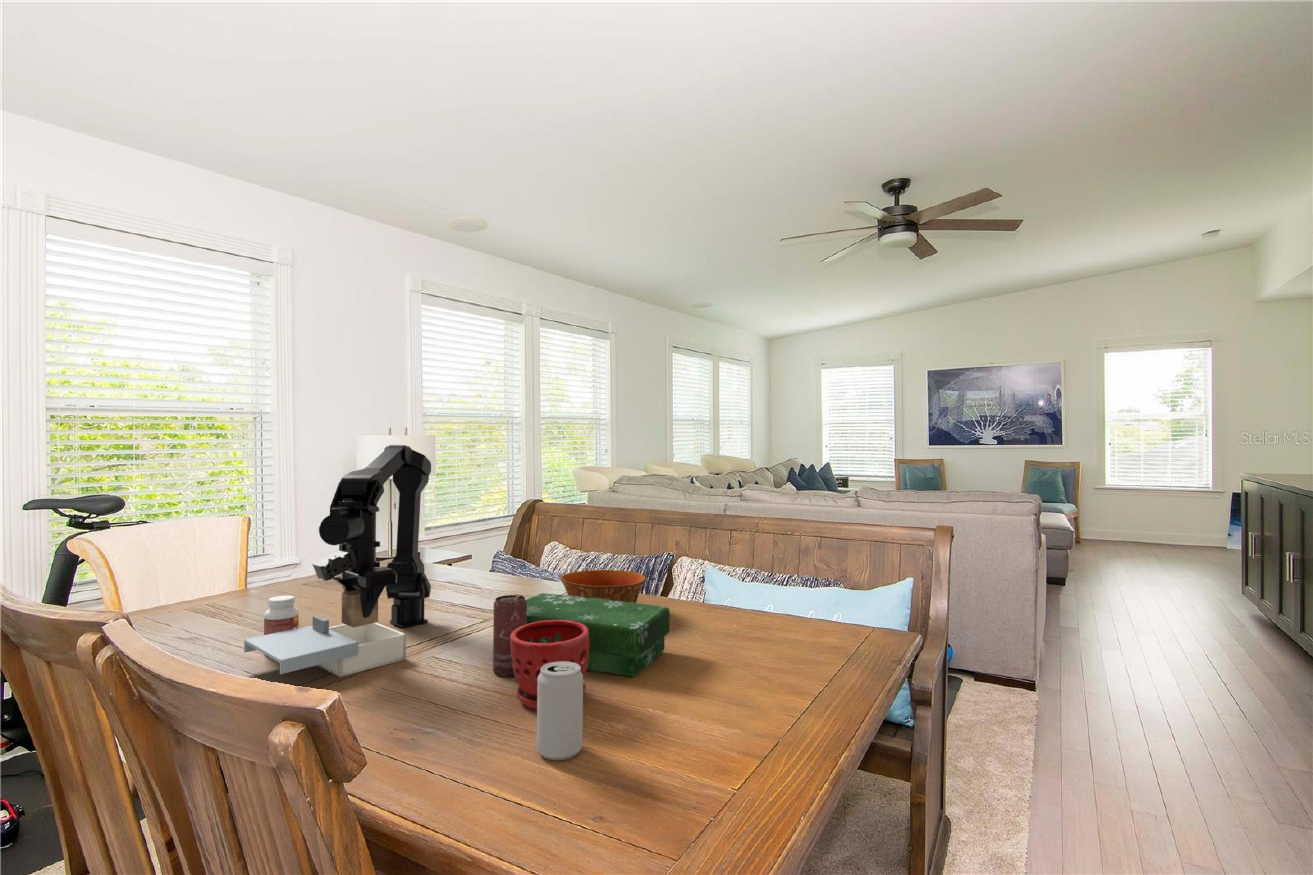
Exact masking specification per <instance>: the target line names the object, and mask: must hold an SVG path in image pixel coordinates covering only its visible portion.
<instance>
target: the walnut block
mask: <svg viewBox="0 0 1313 875" xmlns="http://www.w3.org/2000/svg"><path fill="white" fill-rule="evenodd" d="M378 622H379V599H378V600H377V602H376V604H375V606H374V608H373V610H372V612H371V614H370V616H369V617H366V618H364V617H363V613H362V606H361V597H360V592H359V591H358V590H354V591H349V592H344V591H343V592H341V623H342V624H346V625H348V626H351V627H353V628H354V627H358V626H363V625H367V624H372V623H378Z"/></svg>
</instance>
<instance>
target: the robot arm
mask: <svg viewBox="0 0 1313 875" xmlns="http://www.w3.org/2000/svg"><path fill="white" fill-rule="evenodd" d="M431 472H432V462H431V461H430V460H429V459H428V457H426V455H425V454H424V453H421V452H419V451H416V450H414V449H412V447H410V446H408V445H406V444H389V445H386V446H385V447H384V450H383V451H382V452H381V453H380V454H379V455H378V456H377V457H375V459H373V460H372V461H371V462H370V463H369V464H368V465H367V466H365V467H364V468H363V469H362V468H361V469H357V470H354V471H350V472H348V473H346V474H344V475H343V477H342V478H341V479H340V481H339V482H338V484H337V487H336V489H335V493H334V495H333V498H332V501H331V503H330V505H329V515H327V516H326V517H324V518H323V520H322V521H321V522H320V525H319V526H318V533H319V536H320V538H321V540H322V541H323V542H324V543H325V544H327V545H330V546H339V547H338V551H335V552H333V553H330V554H327V555H326V556H324V557H321V558H319V559H317V560H315V561H314V562H312V567H313V569H314V572H315V574H316V577H317V579H319V580H321V579H322V580H323V581H324V582H325V581H326V582H327V581H330V580H333V581H335V582H336V583H337V584H339V585H340V586H341V587H342V590H343V592H349V591H354V590H358V591H359V592H360V597H361V606H362V613H363V617H364V618H366V617H369V616H370V614H371V612H372V610H373V608H374V606H375V604H376V602H377V600H378V601H379V599H380V596H381V594H382V593H383V591H384V589H385V591H386V596H387V597H386V598H387V599H388V600H389V599H393V601H392V603H393V604H392V605H391V610H390V611H391V613H390V614H391V615H390V616H391V619H390V620H389V623H390V624H392V625H394V626H397V627H401V628H408V627H412V626H417V625H420V624H425V623H428V622H429V619H426V618H425V599H428V598H430V597H431V596H430V595H431V592H432V590H431V589H432V586H431V584H430V581H429V579H428V577H427V575H426V573H425V564H424V562H423V560H422V559H421V557H420V555H419V540H420V538H419V534H420V515H421V496H422V492H423V490H424V489H425V487H427V485H428V484H429V480H430V475H431ZM391 477H392V483H393V484H394V486H395V487H396V489H397V491H398V510H397V511H398V514H397V530H396V532H397V533H396V550H395V555H394V557H393V559H392V560H391V562H388V563H387V565H386V566H381V562H380V561H378V560H377V559H376V558H377V557H376V556H377V548H379V547H381V541H379V540H377V513H379V512H380V507H379V506H378V503H379V501H380V499H381V498H382V496H383V494H384V493H385V488H384V484H385V483H386V482H387V481H388V480H389V479H391Z"/></svg>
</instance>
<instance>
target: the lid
mask: <svg viewBox="0 0 1313 875" xmlns="http://www.w3.org/2000/svg"><path fill="white" fill-rule="evenodd" d="M329 627H330V620H329V619H327V618H324V617H322V616H320V615H314V616H312V625H308V626H303V627H299V628H297V629H292V630H287V631H283V632H278V633H273V634H268V635H264V634H263V635H259V636H255V637H249V638H245V639H243V641H244V642H243V644H244V645H243V646H244V647H243V649H244V653H249V652H253V651H258V652H259V653H262V654H263V655H265V656H266V657H268V658H270V659H272V660H274V661H276V662H277V663H278V664H279V674H280V675H284V674H288V673H292V672H295V671H298V670H303V669H307V668H311V667H312V668H313V667H314V666H315V667H316V666H318V665H320V664H324V663H328V662H332V661H336V660H340V659H344V658H348V657H352V656H355V655H358V642H357V641H355V640H353V639H351V638H348V637H346V636H344V635H342V634H339V633H337V632H335V631H333V630H330V629H329Z"/></svg>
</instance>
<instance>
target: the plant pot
mask: <svg viewBox="0 0 1313 875" xmlns="http://www.w3.org/2000/svg"><path fill="white" fill-rule="evenodd" d="M557 634H559V635H561V637H562V639H561V641H556V640H555V635H557ZM575 636H576V638H575ZM543 637H547V638H549V639H550V641H551V643H539V641H540V639H541V638H543ZM530 639H532V640H533V643H530V642H528V641H529V640H530ZM567 639H569V640H567ZM510 649H511V656H512V665H513V671H514V675H515V676H514V677H515V680H516V682H517V684H518V687H517V688H516V697H517V699H518V701H519V702H520V703H521V704H523V705H524V706H526V707H527V708H531V709H535V710H537V687H538V676H539V674H540V673H541V672H540V669H541V667H542V666H543V665H545V664H548V663H551V662H559V661H567V662H573V663H576V664H578V665H580V667H581V670H580V671H581V673H582V674H583V679H584V678H585V675H586V672H587V670H586V669H587V665H588V658H589V631H588V628H587V627H586V626H585V625H583V624H581V623H578V622H574V621H567V620H546V621H538V622H533V623H529V624H526V625H523V626H521V627H519V628H517V629H515V630H514V631H513V632H512V633H511V636H510ZM581 652H582V655H581ZM580 655H581V658H580ZM586 688H587V686H586V684H585V682H584V681H583V696H584V695H585V692H586Z"/></svg>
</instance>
